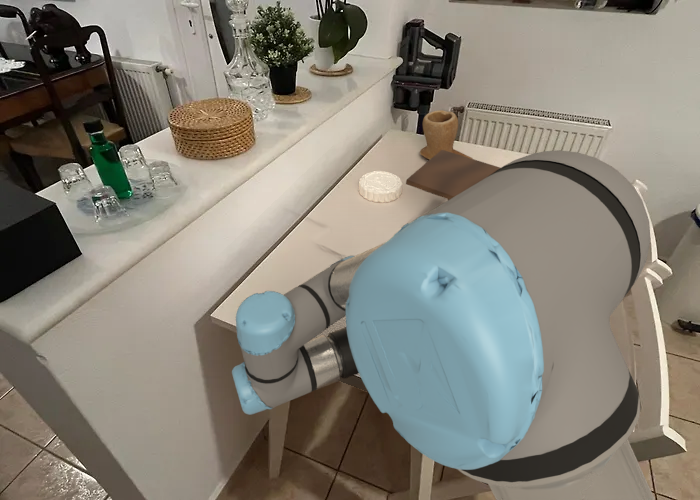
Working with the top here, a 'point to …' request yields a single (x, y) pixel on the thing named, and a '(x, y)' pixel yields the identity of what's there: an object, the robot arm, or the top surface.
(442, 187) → the side table
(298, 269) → the top surface
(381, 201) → the mooncake
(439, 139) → the stone cup
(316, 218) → the top surface
